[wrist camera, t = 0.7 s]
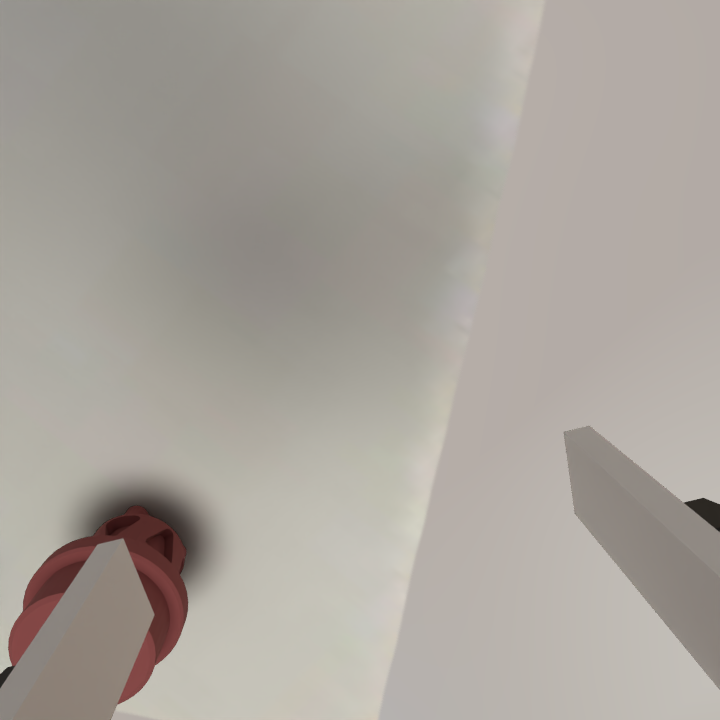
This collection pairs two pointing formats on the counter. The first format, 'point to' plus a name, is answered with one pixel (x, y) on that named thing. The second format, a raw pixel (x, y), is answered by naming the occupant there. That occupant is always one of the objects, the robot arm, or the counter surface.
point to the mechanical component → (155, 569)
